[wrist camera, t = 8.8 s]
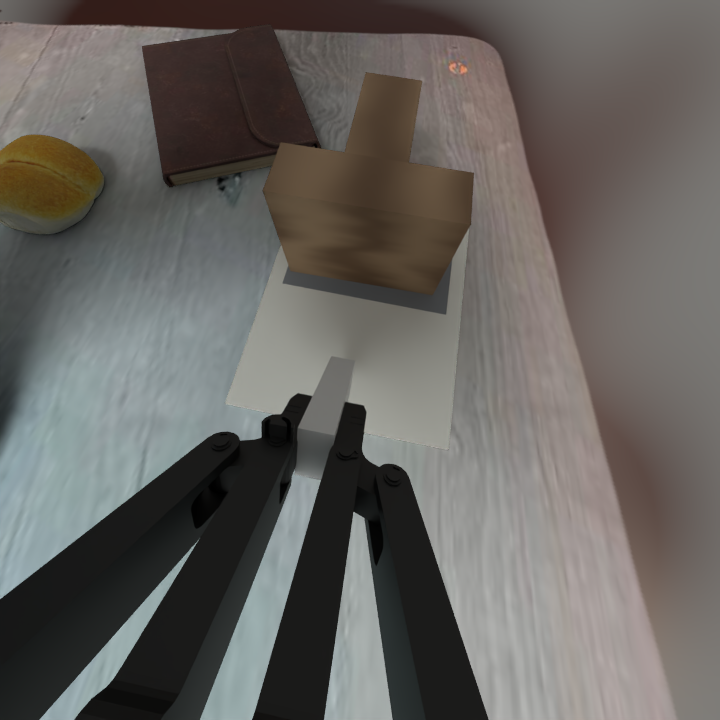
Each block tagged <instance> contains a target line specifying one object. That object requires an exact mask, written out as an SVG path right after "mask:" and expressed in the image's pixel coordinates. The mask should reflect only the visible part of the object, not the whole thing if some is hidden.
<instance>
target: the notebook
mask: <svg viewBox="0 0 720 720" xmlns="http://www.w3.org/2000/svg"><path fill="white" fill-rule="evenodd" d="M142 51H143V57H144V63H145V69H146V75H147V82H148V88H149V94H150V100H151V106H152V112H153V118H154V124H155V130H156V137H157V143H158V149H159V155H160V161H161V167H162V173H163V179H164V182H165V183H166V184H167V186H169V187H173V186H176V185H181V184H185V183H190V182H195V181H200V180H205V179H210V178H214V177H219V176H224V175H229V174H234V173H239V172H243V171H248V170H253V169H258V168H263V167H268V166H272V164H273V162H274V159H275V156H276V154H277V151H278V148H279V146H280V143H281V142H282V143H288V144H295V145H301V146H307V147H313V148H320V149H321V146H320V144H319V141H318V139H317V136H316V134H315V131H314V129H313V126H312V124H311V121H310V119H309V116H308V114H307V112H306V109H305V107H304V104H303V102H302V99H301V97H300V94H299V92H298V89H297V87H296V84H295V82H294V79H293V77H292V74H291V72H290V69H289V67H288V64H287V62H286V59H285V57H284V54H283V52H282V49H281V47H280V44H279V42H278V40H277V37H276V35H275V32H274V30H273V28H272V26H271V25H270V24H268V25H261V26H253V27H246V28H242V29H239V30H237V31H235V32H233V33H229V34H222V35H215V36H208V37H201V38H195V39H188V40H181V41H174V42H167V43H160V44H153V45H146V46H142Z"/></svg>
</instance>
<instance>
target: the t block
mask: <svg viewBox="0 0 720 720" xmlns="http://www.w3.org/2000/svg"><path fill="white" fill-rule="evenodd" d="M421 85H422V81H420V80H414V79H407V78H400V77H394V76H387V75H381V74H374V73H367V72H366V74H365V78H364V81H363V85H362V89H361V93H360V96H359V100H358V104H357V107H356V111H355V115H354V119H353V122H352V126H351V130H350V134H349V137H348V141H347V145H346V149H345V152H339V151H332V150H326V149H320V148H313V147H307V146H301V145H295V144H288V143H282V142H281V143H280V146H279V148H278V151H277V154H276V156H275V159H274V162H273V164H272V167H271V170H270V172H269V175H268V178H267V180H266V183H265V186H264V188H263V193H264V196H265V199H266V202H267V205H268V208H269V211H270V214H271V216H272V219H273V222H274V225H275V228H276V231H277V234H278V237H279V240H280V242H281V245H282V248H283V251H284V254H285V257H286V260H287V263H288V266H289V268H290V271H293V272H298V273H304V274H310V275H316V276H322V277H328V278H334V279H340V280H346V281H352V282H357V283H363V284H369V285H375V286H381V287H387V288H393V289H399V290H405V291H411V292H417V293H422V294H428V295H433V294H434V292H435V290H436V288H437V286H438V284H439V282H440V281H441V279H442V277H443V275H444V273H445V271H446V269H447V268H448V266H449V264H450V262H451V260H452V258H453V257H454V255H455V253H456V251H457V249H458V247H459V245H460V244H461V242H462V240H463V238H464V236H465V234H466V232H467V231H468V229H469V227H470V225H471V212H472V195H473V179H474V173H471V172H465V171H458V170H452V169H446V168H439V167H433V166H427V165H421V164H414V163H409V158H410V152H411V146H412V140H413V134H414V128H415V122H416V116H417V109H418V103H419V97H420V91H421Z"/></svg>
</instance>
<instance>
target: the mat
mask: <svg viewBox="0 0 720 720" xmlns="http://www.w3.org/2000/svg"><path fill="white" fill-rule="evenodd" d="M468 236H469V229H468V231H467V232H466V234H465V236H464V238H463V240H462V242H461V244H460V245H459V247H458V249H457V251H456V253H455V255H454V257H453V258H452V260H451V262H450V264H449V266H448V268H447V269H446V271H445V273H444V275H443V277H442V279H441V281H440V282H439V284H438V286H437V288H436V290H435V292H434V294H433V295H428V294H422V293H417V292H411V291H405V290H399V289H393V288H387V287H381V286H375V285H369V284H363V283H357V282H352V281H346V280H340V279H334V278H328V277H322V276H316V275H310V274H304V273H298V272H293V271H290V268H289V266H288V263H287V260H286V257H285V254H284V251H283V248H282V245H280V248H279V251H278V254H277V257H276V259H275V262H274V265H273V268H272V271H271V274H270V276H269V279H268V282H267V285H266V288H265V291H264V293H263V296H262V299H261V302H260V305H259V308H258V311H257V313H256V316H255V319H254V322H253V325H252V328H251V330H250V333H249V336H248V339H247V342H246V345H245V347H244V350H243V353H242V356H241V359H240V362H239V365H238V367H237V370H236V373H235V376H234V379H233V382H232V384H231V387H230V390H229V393H228V396H227V399H226V401H225V404H227V405H232V406H237V407H242V408H246V409H251V410H256V411H261V412H266V413H271V414H282V412H283V411H284V409H285V407H286V406H287V404H288V402H289V400H290V398H291V397H293V396H294V395H296V394H297V393H300V394H305V395H310V396H313V394H314V392H315V390H316V388H317V386H318V384H319V381H320V379H321V377H322V375H323V373H324V371H325V369H326V366H327V364H328V362H329V360H330V358H331V356H333V357H339V358H344V359H349V360H354V361H355V366H354V371H353V377H352V383H351V389H350V395H349V400H348V402H349V403H354V404H359V405H364V407H365V409H366V412H367V414H366V421H365V428H364V433H367V434H372V435H377V436H382V437H387V438H391V439H396V440H401V441H406V442H411V443H416V444H420V445H425V446H430V447H435V448H440V449H445V450H449V441H450V430H451V419H452V409H453V398H454V387H455V376H456V365H457V355H458V344H459V333H460V322H461V312H462V301H463V290H464V279H465V268H466V258H467V247H468Z"/></svg>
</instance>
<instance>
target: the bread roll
mask: <svg viewBox="0 0 720 720" xmlns="http://www.w3.org/2000/svg"><path fill="white" fill-rule="evenodd" d="M103 186H104V177H103V174H102V173H101V171H100V169H99V168H98V166H97V165H96V163H95V162H94V161H93V160H92V159H91V158H90V157H89V156H88V155H87V154H86V153H85V152H83V151H81V150H80V149H78V148H77V147H75V146H73V145H72V144H70V143H68V142H66V141H63V140H60V139H57V138H54V137H50V136H45V135H26V136H22V137H20V138H18V139H16V140H14V141H13V142H11V143H10V144H9V145H7V146H6V147H5V148H3V149H2V150H1V151H0V222H1V223H3V224H4V225H5V226H7V227H10V228H12V229H16V230H21V231H24V232H28V233H35V234H54V233H58V232H61V231H63V230H65V229H67V228H69V227H71V226H72V225H74V224H76V223H77V222H79V221H80V220H82V219H83V218H84V216H85V215H86V214H87V213H88V212H89V210H90V208H91V206H92V204H93V203H94V199H95V198H97V197H98V196H99V195H100V193H101V191H102V189H103Z"/></svg>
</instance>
